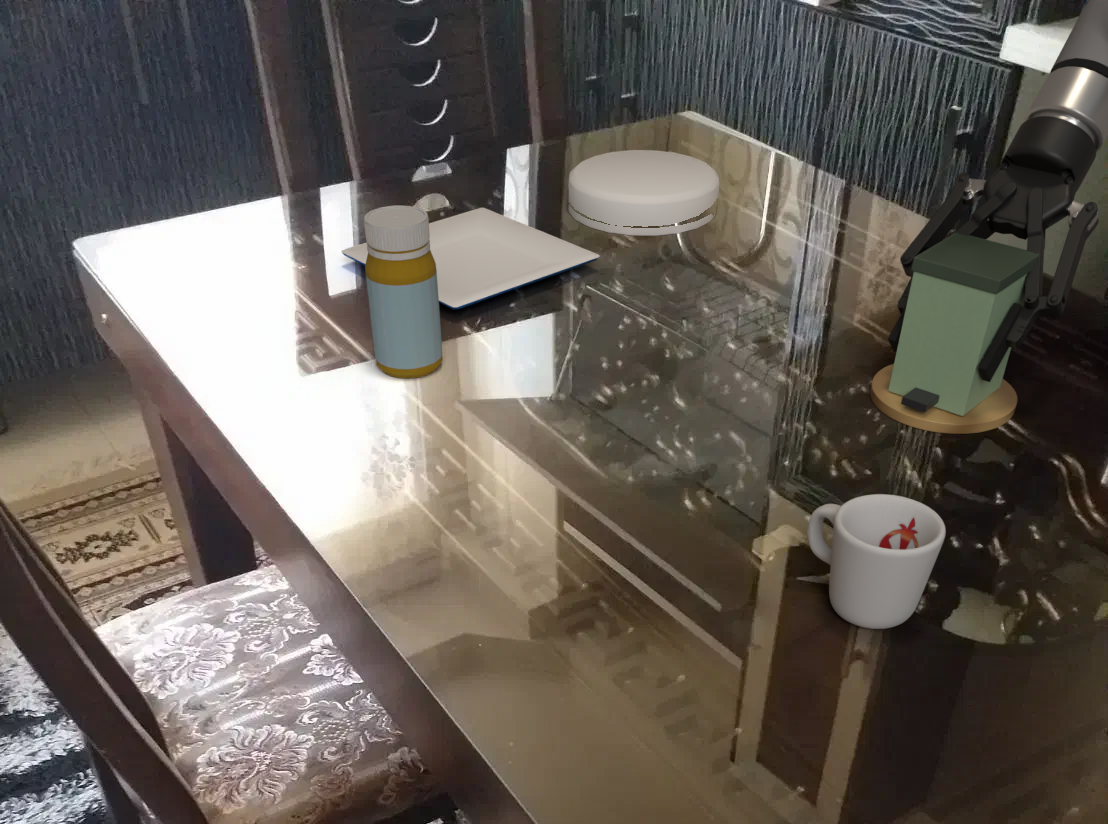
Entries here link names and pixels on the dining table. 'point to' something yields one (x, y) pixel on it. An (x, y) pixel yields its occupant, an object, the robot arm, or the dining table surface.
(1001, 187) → the robot arm
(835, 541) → the cup
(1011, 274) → the bin
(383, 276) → the bottle
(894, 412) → the disc
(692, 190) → the container
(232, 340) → the dining table surface
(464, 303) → the plate
